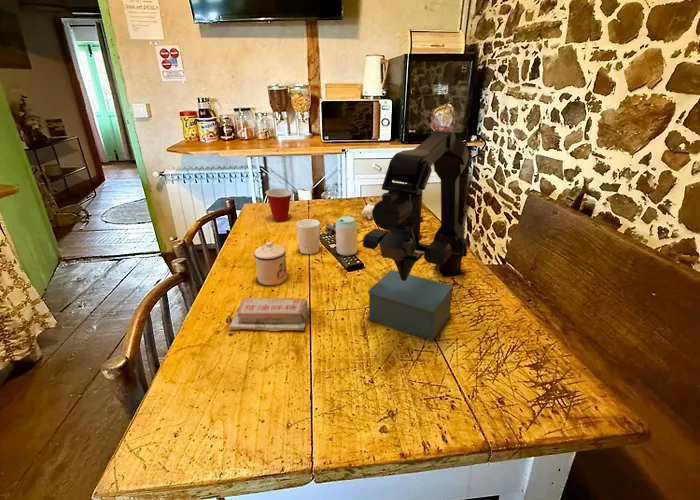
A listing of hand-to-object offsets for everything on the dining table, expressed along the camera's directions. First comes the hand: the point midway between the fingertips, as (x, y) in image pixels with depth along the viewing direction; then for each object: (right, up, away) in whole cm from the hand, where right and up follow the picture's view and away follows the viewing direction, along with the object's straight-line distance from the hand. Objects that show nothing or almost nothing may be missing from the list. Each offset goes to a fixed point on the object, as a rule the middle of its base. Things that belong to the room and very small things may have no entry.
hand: (404, 280), depth 89 cm
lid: (+2, -3, +5) cm, 7 cm away
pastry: (-16, +14, +62) cm, 65 cm away
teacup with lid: (-35, -1, +30) cm, 46 cm away
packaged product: (-32, -11, +9) cm, 35 cm away
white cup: (-26, +7, +46) cm, 54 cm away
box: (+3, -10, +9) cm, 14 cm away
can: (-13, +6, +44) cm, 47 cm away
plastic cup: (-41, +19, +75) cm, 88 cm away
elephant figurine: (-4, +20, +75) cm, 77 cm away
